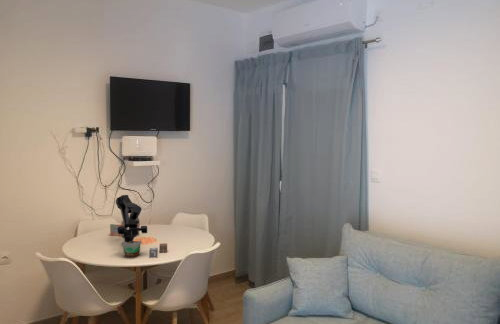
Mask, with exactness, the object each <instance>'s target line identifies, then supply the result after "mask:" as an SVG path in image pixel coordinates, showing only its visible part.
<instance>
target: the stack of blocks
mask: <svg viewBox="0 0 500 324" xmlns="http://www.w3.org/2000/svg"><path fill="white" fill-rule="evenodd" d="M119 226H124V222H123V220H121V221H120V222H111V223H110V224H109V227H110V231H109V232H110V237H111V236H113V237H122V234H118V230H117V229H118V227H119ZM137 228H141V225H140V219H139V224H138V226H137ZM139 236H140V231H139V232H138V235H136V236H135V238H137V237H139Z"/></svg>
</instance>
